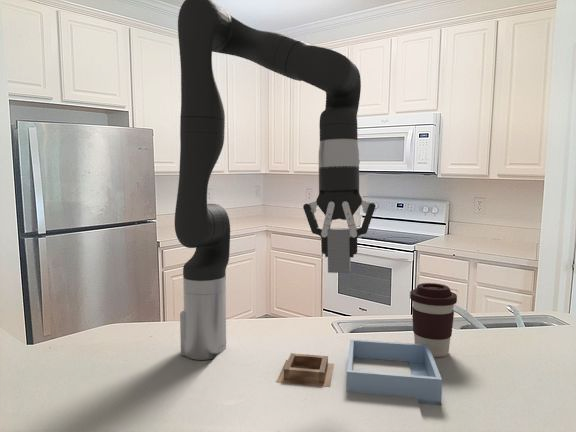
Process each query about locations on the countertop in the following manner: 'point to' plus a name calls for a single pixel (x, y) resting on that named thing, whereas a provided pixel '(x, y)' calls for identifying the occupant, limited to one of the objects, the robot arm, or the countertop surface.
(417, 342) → the coffee cup
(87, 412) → the countertop surface
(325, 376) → the socket block
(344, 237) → the grey rectangular peg
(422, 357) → the bin
